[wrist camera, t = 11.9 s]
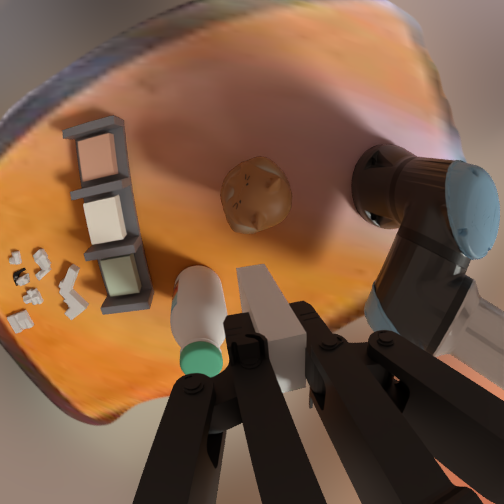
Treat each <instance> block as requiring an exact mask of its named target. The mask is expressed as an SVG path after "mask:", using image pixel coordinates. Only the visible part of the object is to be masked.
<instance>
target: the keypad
mask: <svg viewBox="0 0 504 504" xmlns="http://www.w3.org/2000/svg"><path fill="white" fill-rule="evenodd" d="M62 132H63V139H74V140H75V141H76V150H77V158H78V166H79V173H80V180H81V186H82V188H81V189H78V190H75V191H72V192H70V194H71V200H75V199H79V198H84V203H86V202H88V201H92V200H96V199H101V198H105V197H110V196H115V195H119V197H120V202H121V208H122V213H123V218H124V223H125V228H126V233H127V235H126V236H125V237H124V239H121V240H116V241H110V242H105V243H99V244H94V245H92V246H91V247H90V248H89V249H88V250H87V251H86V252H85V253H84V257H85V260H86V261H90V260H96V259H97V260H98V264H99V267H100V271H101V274H102V278H103V281H104V284H105V288H106V291H107V294H108V295H107V297H106V299H105V301H104V302H103V304H102V306H101V311H102V314H103V315H104V314H113V313H121V312H129V311H137V310H145V309H150V306H151V303H152V299H153V295H154V290H153V286H152V282H151V278H150V274H149V269H148V265H147V261H146V257H145V252H144V248H143V243H142V238H141V233H140V228H139V223H138V218H137V213H136V207H135V201H134V195H133V189H132V183H131V176H130V169H129V162H128V154H127V146H126V137H125V127H124V120H123V119H121V118H119V117H116V116H114V115H113V116H109V117H105V118H101V119H98V120H94V121H91V122H87V123H84V124H81V125H77V126H74V127H71V128H68V129H65V130H62ZM107 133H111V134H114V142H115V151H116V159H117V167H118V174H114V175H110V176H105V177H101V178H97V179H93V180H89V181H85V182H83V179H82V172H81V165H80V157H79V149H78V141H81V140H85V139H88V138H92V137H96V136H99V135H103V134H107ZM132 253H134V257H135V261H136V266H137V270H138V274H139V277H140V281H141V285H142V287H141V289H140V292H139V293H133V294H126V295H119V296H111V297H110V294H109V291H108V288H107V284H106V281H105V277H104V274H103V271H102V267H101V263H100V260H101V259H102V258H108V257H114V256H120V255H126V254H132Z"/></svg>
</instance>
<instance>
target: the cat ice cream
mask: <svg viewBox="0 0 504 504" xmlns="http://www.w3.org/2000/svg"><path fill="white" fill-rule="evenodd" d="M221 201H222V205H223V209H224V212H225V214H226V218H227V221H228V223H229V225H230V227H231V228H232V230H233V231H235V232H238V233H243V234H253V233H256V232H259V231H262V230H265V229H268V228H271V227H273V226H275V225H277V224H279V223H280V222H282V221H283V220H284V219H285V218H286V216H287V215H288V213H289V211H290V208H291V204H292V193H291V189H290V185H289V182H288V180H287V178H286V176H285V175H284V173H283V172H282V170H281V169H280V168H279V167H278V166H277V165H276V164H275V163H274V162H273V161H271V160H270V159H268V158H266V157H262V156H259V157H255V158H253V159H250V160H247V161H245V162H241V163H240V164H239V165H237V166H236V167H235V168H234V169H232V170H231V171H230V172H229V173H228V174H227V176H226V178H225V180H224V182H223V185H222V189H221Z"/></svg>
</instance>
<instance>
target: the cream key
mask: <svg viewBox="0 0 504 504" xmlns="http://www.w3.org/2000/svg"><path fill="white" fill-rule="evenodd" d="M83 207H84V212H85V217H86V221H87V226H88V230H89V235H90V239H91V243H92V245H94V244H99V243H105V242H110V241H116V240H121V239H124V237H125V236H126V235H127V233H126V228H125V223H124V218H123V213H122V208H121V202H120V197H119V195H115V196H110V197H105V198H101V199H96V200H92V201H88V202H86V203H84V204H83Z"/></svg>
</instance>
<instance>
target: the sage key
mask: <svg viewBox="0 0 504 504" xmlns="http://www.w3.org/2000/svg"><path fill="white" fill-rule="evenodd" d="M100 263H101V267H102V271H103V274H104V277H105V281H106V284H107V288H108V291H109V294H110V297H111V296H119V295H126V294H133V293H139V292H140V289H141V287H142V285H141V281H140V277H139V274H138V270H137V266H136V261H135V257H134V253H132V254H126V255H120V256H114V257H108V258H102V259H101V260H100Z"/></svg>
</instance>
